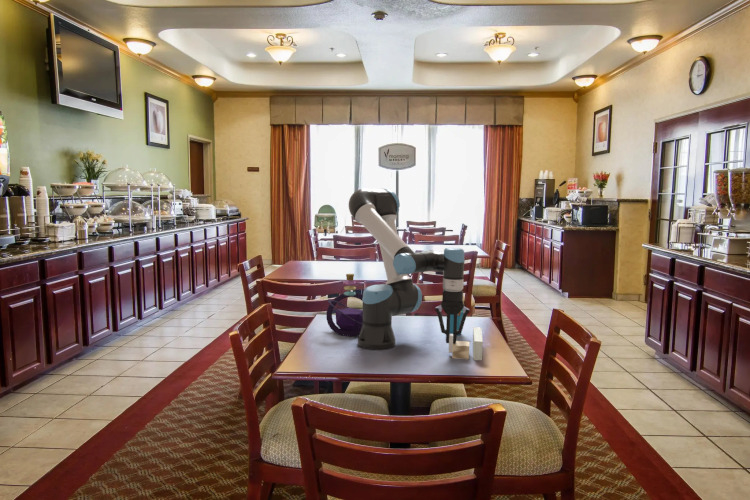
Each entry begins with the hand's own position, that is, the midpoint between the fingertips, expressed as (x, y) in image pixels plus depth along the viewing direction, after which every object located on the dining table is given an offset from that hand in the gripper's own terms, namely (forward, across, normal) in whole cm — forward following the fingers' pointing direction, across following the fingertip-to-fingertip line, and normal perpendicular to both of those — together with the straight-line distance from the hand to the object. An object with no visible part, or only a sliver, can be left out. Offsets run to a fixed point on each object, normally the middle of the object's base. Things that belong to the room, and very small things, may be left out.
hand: (450, 351), depth 191 cm
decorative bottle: (+2, -45, +24) cm, 51 cm away
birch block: (+2, +4, 0) cm, 4 cm away
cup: (+2, 0, +31) cm, 31 cm away
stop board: (+2, +10, +7) cm, 12 cm away
